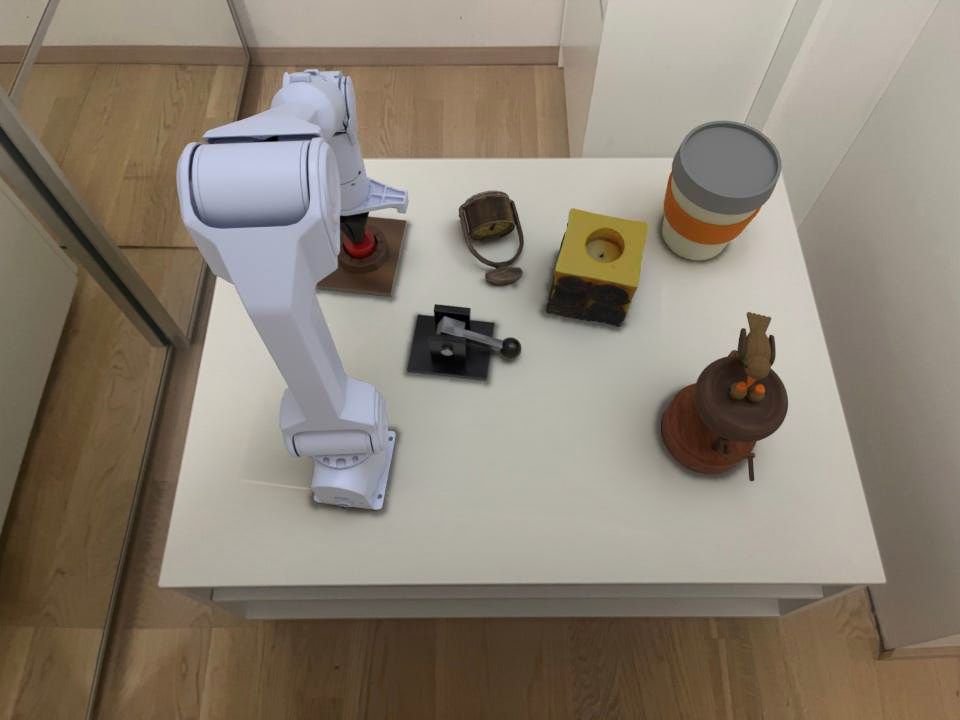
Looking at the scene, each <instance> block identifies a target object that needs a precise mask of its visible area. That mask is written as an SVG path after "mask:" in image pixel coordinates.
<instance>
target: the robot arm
mask: <svg viewBox="0 0 960 720" xmlns="http://www.w3.org/2000/svg"><path fill="white" fill-rule="evenodd" d="M356 100H357V99H356V93H355V88H354V84H353V80H352V78H351V76H349V75H347V76H344V74H343V72H342V70H329V71H327V70H325V71H320V70H319V69H318V68H309V69H305V70H303V71H299V72H292V73H288V72H287V71H285V72H284V73H283V76H282V87H281V88H280V89H279V90H278V91H277V92H276V93H275V95H274V96H273V98H272V99H271V103H270V107H269V109H267V110H264V111H262V112H260V113H257V114H253V115H252V116H249V117H246V118H244V119H241V120H236V121H233V122H229V123H227V124H223V125H221V126H218V127H214V128H211V129H209V130H207V131H205V133H204V134H203V136H201V139H202V140H203V141H205V143H206V144H205V143H203V142H200V141H196V142H195V141H193V142H189V143H188V144H186V146H184V148H183V150H182V152H181V154H180V156H179V157H178V160H177V165H176V173H175V174H176V177H175V178H176V190H177V196H178V200H179V211H180V216H181V219H182V223H183V225H184V228H185V229H186V231H187V232H188V234H189V235H190V237H191V239H192V240H193V242H194V244H195V247H196V248H197V249H198V251H199V252H200V254H201V256H202V257H203V259H204V260H205V262H206V264H207V265H208V267H209V269H210V270H211V272H212V274H213V275H214V276H216V277H218V278H220V279H221V280H223V281H225V282H227V283H229V284H231V285H233V286H234V288H235V290H236V293H237V295H238V297H239V299H240V301H241V303H242V306H243V307H244V309H245V311H246V314H247V315H248V317H249V319H250V321H251V323H252V325H253V326H254V329H256V331H257V334H258V335H259V337H260V338H261V339H260V340H262V342H263V343H264V346H265V348H266V349H267V351H268V353H269V355H270V357H271V358H272V360H273V362H274V364H275V365H276V367H277V370H278V371H279V373H280V374H281V376H282V378H283V380H284V381H285V383H286V385H287V388H285V389H284V391H283V395H282V397H281V401H280V404H279V405H280V406H279V416H278V426H279V429H280V431H281V433H282V440H283V445H284V448H285V450H286V452H287V453H289V455H290V456H291V457H292V458H294V459H299V458H301V457H307V458H311V459H313V461H314V463H313V464H314V469H313V475H312V479H311V483H310V490H311V492H312V493H313V494H314V495H313V500H314V501H315V503H321V504H326V505H327V504H328V505H335V506H339V507H342V508H343V507H344V508H357V509H358V508H359V509H365V510H366V509H367V510H375V511H380V510H382V508H383V507H384V502H385V495H386V490H387V484H388V479H389V475H390V474H389V473H390V468H391V463H392V459H393V452H394V448H395V442H396V437H397V434H396V432H395V431H393V430H389V419H388V408H387V401H386V398H385V397H384V396H383V395H382V394H381V392H380V391H379V390H378V389H377V386H376V385H375V384H372V383H369V382H366V381H362V380H359V379H355V378H352V377H349V376H348V375H347V372H346V370H345V368H344V365H343V363H342V360H341V357H340V354H339V352H338V349H337V347H336V345H335V341H334V339H333V336H332V334H331V331H330V329H329V326H328V323H327V321H326V320H327V319H326V317H325V315H324V313H323V309H322V307H321V305H320V301H319V299H318V297H317V294H316V292H315V291H316V287H317V283H318V282H319V281H321V280H322V279H323V278H325V277H326V276H328V275H329V274H331V273H332V272H333V271H335V270H336V269H337V268H338V258H337V256H338V255H339V253H340V230H341V231H342V232H343V233H344V234H345V235H346V236H347V237H348V238H349V239H350V241H351V242H352V243H356V244H362V243H363V239H364V235H365V225H366V222H367V219H368V217H369V215H370V212H375V211H380V210H385V209H395V210H396V211H397V212H396V213H398V214H407V212H408V211H407V210H408V206H409V203H410V202H409V195H408V190H405V189H398V188H395V187H392V186H390V185H388V184H385V183H383V182H381V181H378V180H375V179H373V178H370V177H368V176H367V170H366V165H365V161H364V158H363V153H362V149H361V145H360V139H359V135H358V133H359V132H358V130H359V123H358V115H357V102H356ZM390 438H392V440H390ZM380 495H381V497H380V498H379V496H380Z"/></svg>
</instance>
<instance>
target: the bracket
mask: <svg viewBox="0 0 960 720" xmlns="http://www.w3.org/2000/svg"><path fill="white" fill-rule="evenodd" d="M444 316H446V317H449V318H452V319H456V320H459V321H462V322H465V329H466V330H469V331H472V332H476V333H479V334H483V335H486V336H489V337H493V338H494V330H495V322H491V321H482V320H475V319H474V320H473V319H472V309H471V307H465V306H464V307H463V306H455V305H446V304H438V303H437V304H436V303H435V304H434V306H433V315H427V314H417V318H416V323H415V328H414V334H413V338H412V344H411V349H410V356H409V360H408V365H407V372H408V373H415V374H424V375H432V376H442V377H450V378H460V379H467V380H476V381H486V382H487V381H488V377H489V368H490V362H491V361H490V360H491V354H492V349H490V348H487V347H483V346H480V345H477V344H473V343H470V342H466V337H460V336H451V335H442V334H436V332H437V326H438V323H439V322H440V321H441V319H442V318H443V317H444Z"/></svg>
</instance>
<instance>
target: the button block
mask: <svg viewBox="0 0 960 720" xmlns="http://www.w3.org/2000/svg"><path fill="white" fill-rule="evenodd" d="M407 226H408V221H407V220H406V219H396V218H387V217H379V216H378V217H377V216H368V219H367V222H366V225H365V227H367V228H368V229H370V230H371V231H372V232H373V235H374V238H375V242H376V248H375V250H374V252H373V253H372V254H371V255H370V256H368V257H365V258H354V257H352V256H350V255H349V254H348V252H347V250H346V247H345V244H344V235H345V234H344V233H343V232H342V231H341V230H340V253H339V255H338V256H337V258H338V268H337V269H336V270H335V271H333V272H332V273H331V274H329V275H328V276H326V277H325V278H323V279H322V280H321V281H319V282H318V283H317V284H316V288H317V289H318V290H324V291H333V292H342V293H343V292H344V293H351V294H352V293H353V294H362V295H370V296H371V295H372V296H380V297H381V296H382V297H389V298H391V297H393V293H394V288H395V283H396V277H397V273H398V270H399V269H398V268H399V264H400V259H401V255H402V250H403V245H404V242H405V241H404V240H405V235H406V231H407Z"/></svg>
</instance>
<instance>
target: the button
mask: <svg viewBox="0 0 960 720" xmlns="http://www.w3.org/2000/svg"><path fill="white" fill-rule="evenodd" d="M344 244H345V247H346V250H347V252H348V254H349V255H350V256H352V257H354V258H365V257H368V256H370V255H371V254H372V253H373V252H374V250H375V248H376V242H375V238H374V235H373V232H372V231H371V230H370V229H368V228H367V227H365V235H364V239H363V243H362V244H356V243H352V242H351V241H350V239H349V238H348V237H347V236H346V235H344Z"/></svg>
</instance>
